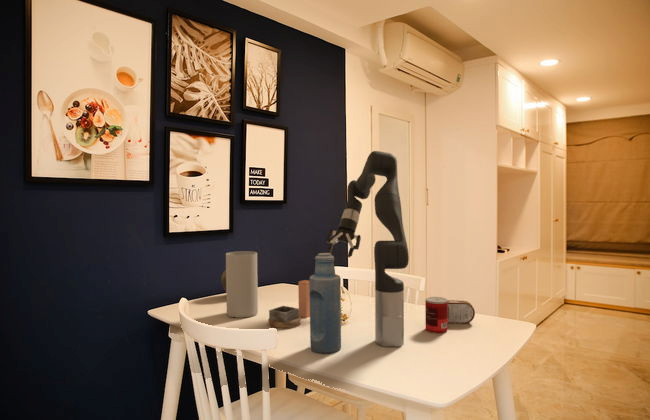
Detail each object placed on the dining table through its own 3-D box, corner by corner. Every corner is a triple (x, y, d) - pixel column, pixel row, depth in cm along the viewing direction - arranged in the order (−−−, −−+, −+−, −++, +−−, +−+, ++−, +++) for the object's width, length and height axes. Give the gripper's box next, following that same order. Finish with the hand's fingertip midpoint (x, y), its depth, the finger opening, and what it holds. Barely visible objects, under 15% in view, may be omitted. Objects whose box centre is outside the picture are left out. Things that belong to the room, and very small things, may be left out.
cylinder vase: (235, 320, 164) (234, 256, 163) (221, 313, 173) (220, 253, 173) (263, 314, 172) (262, 253, 171) (248, 308, 181) (247, 250, 180)
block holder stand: (306, 322, 160) (306, 308, 160) (286, 330, 150) (286, 315, 150) (282, 317, 167) (282, 303, 167) (261, 325, 157) (261, 310, 157)
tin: (473, 322, 159) (473, 300, 159) (475, 324, 156) (475, 302, 156) (433, 321, 161) (433, 299, 161) (434, 323, 158) (434, 301, 157)
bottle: (347, 348, 132) (347, 253, 131) (325, 356, 125) (324, 256, 125) (326, 341, 139) (325, 250, 138) (303, 348, 132) (303, 253, 131)
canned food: (447, 327, 153) (447, 297, 153) (447, 334, 145) (447, 302, 145) (425, 325, 155) (425, 296, 155) (425, 332, 147) (425, 301, 147)
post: (312, 315, 170) (312, 281, 169) (306, 317, 166) (306, 282, 166) (304, 314, 172) (304, 279, 171) (298, 316, 169) (298, 281, 168)
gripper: (332, 214, 185) (322, 247, 179) (364, 220, 181) (354, 255, 175) (335, 221, 192) (324, 254, 185) (365, 228, 188) (356, 261, 181)
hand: (339, 254), depth 180 cm, fingers open, 8 cm apart
